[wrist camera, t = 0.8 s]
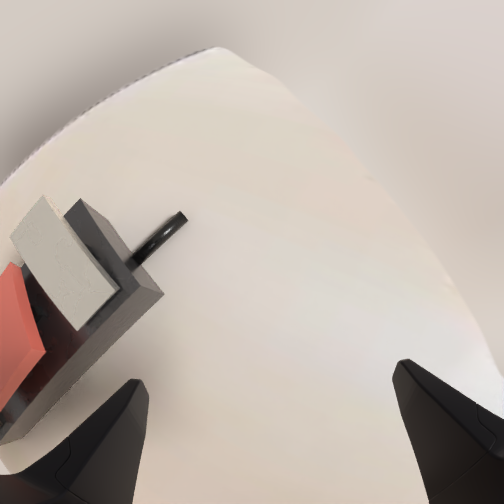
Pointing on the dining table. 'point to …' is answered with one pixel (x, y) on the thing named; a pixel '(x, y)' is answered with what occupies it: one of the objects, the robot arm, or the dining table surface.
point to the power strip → (66, 336)
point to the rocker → (16, 333)
